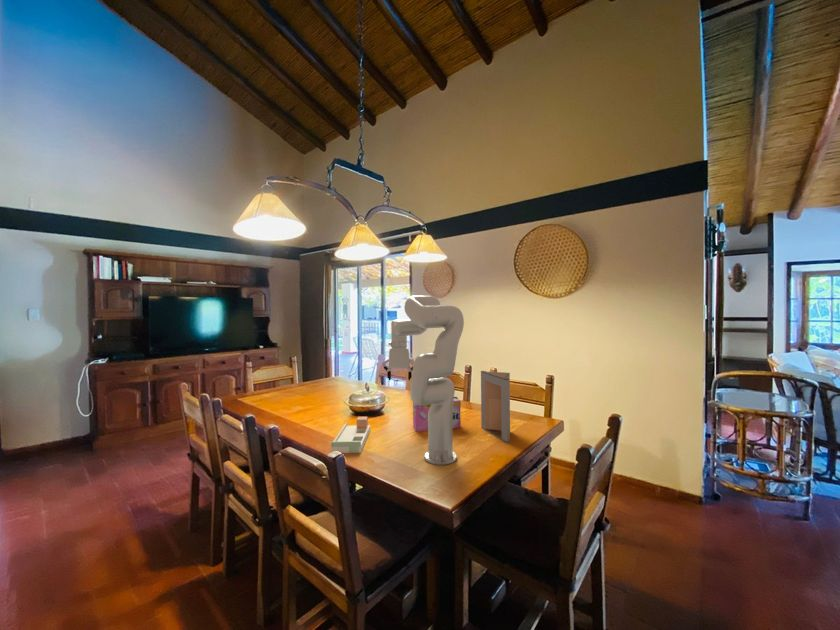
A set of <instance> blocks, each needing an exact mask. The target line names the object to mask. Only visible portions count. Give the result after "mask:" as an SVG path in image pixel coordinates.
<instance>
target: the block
mask: <svg viewBox="0 0 840 630" xmlns="http://www.w3.org/2000/svg"><path fill="white" fill-rule="evenodd" d="M356 425H357V429H367V426H368V425H369V422H368V416H357V418H356Z"/></svg>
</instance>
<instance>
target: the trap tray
mask: <svg viewBox="0 0 840 630" xmlns="http://www.w3.org/2000/svg"><path fill="white" fill-rule="evenodd" d="M370 432H371V425H370V424H368V426H367V429H357V424H356V425H355V424H354V425H348V423H347V422H345V423H344V425H343V426H342V427H341V429H340V430H339V432H338V434H337V435H336V437H335V438H334V439H333V440H332V441H331V443H330V445H331V446H330V447H331V450H330V451H331V453H332V451H339V452H341V453H340V454H354V453H355V454H357V453H358V454H360V453H362V451H363V448H364V446H365V443H366V441H367V439H368V436H369V435H370Z"/></svg>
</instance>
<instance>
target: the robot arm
mask: <svg viewBox="0 0 840 630" xmlns="http://www.w3.org/2000/svg"><path fill="white" fill-rule="evenodd" d="M404 312H405V314H406V316H407V317H408V319H393V320H392V321H391V323H390V325H391V326H390V327H391V329H390V330H391V331H390V332H391V333H390V334H391V335H390V336H391V341H390V342H388V346H390V348H389V351H388V359H387V360H384V361H383V362H381V365H382V366H383V369H384V370H385V371H386V373H387V375H386V376H387V379H388V381H391V379H392V371H391V370H392V369H393V370H394V369H398V370H399V369H401V370H402V369H404V370H405V369H407V371H408V372H407V373H408V374H407V375H408V377H407V378H408V381H411V382H410V400H411V402H412V404H413V403H414V404H415V405H428V404H431V406H430V409H429V412H428V430H427V433H428V434H427V435H428V436H427V438H428V439H427V441H428V442H427V443H428V445H427V446H428V447H427V448H428V451H426V452H425V453H424V460H425V461H426V462H427V463H430V464H433V465H438V466H442V465H443V466H445V465H450V464H453V463H454V462H456V461H457V459H458V456H457V455H458V454H456V452H455V451H453V446H454V444H453V442H454V441H453V439H454V438H453V428H452V407H453V399H454V397H455V391H456V390H455V388H456V387H455V385H454V382H453V381H452V380H451V379H450V378H448V377H449V376H452V374H453V373H454V370H455V366H456V360H457V354H458V347H459V342H460V339H461V336H462V333H463V330H464V323H465V322H464V320H465V319H464V314H463V312H462V311H461V309H460V308H459V307H457V306H453V305H448V304H445V305H444V304H442V305H441V301H440V300H439V299H438V298H437V297H435V296H432V295H412V296H409V297H408V298H407V299H406V301H405V303H404ZM440 328H441V329H442V328H443V330H442V331H440V333H439V334H438V336H437V338H436V340H435V341H434V342H435V343H434V350H433V351H432V352H427V353H422V354H418V356H416V357H415V359H414V360H412V359H411V358H410V350H409V347H408V343H407V342H408V340H407V339H408V337H409V336H420V335H422V334H424V333H425V332H426V331H427V330H428V329H440ZM407 336H408V337H407ZM386 364H388V366H387V365H386ZM411 364H412V367H411V366H410V365H411Z"/></svg>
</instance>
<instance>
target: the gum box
mask: <svg viewBox="0 0 840 630" xmlns="http://www.w3.org/2000/svg"><path fill="white" fill-rule="evenodd" d="M461 403H462V402H461V400H460V399H459V398H458V397H457V396H454V399H453V407H452V429H460V428H461V427H462V426H461V424H462V423H461V421H462V420H461V406H462V405H461ZM430 406H431V404H428V405H415V404H414V403H413V402H412V415H413V416H412V418H413V419H412V420H413V421H412V427H413V429H414V430H415V431H416V432H424V431H427V432H428V412H429V409H430Z"/></svg>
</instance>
